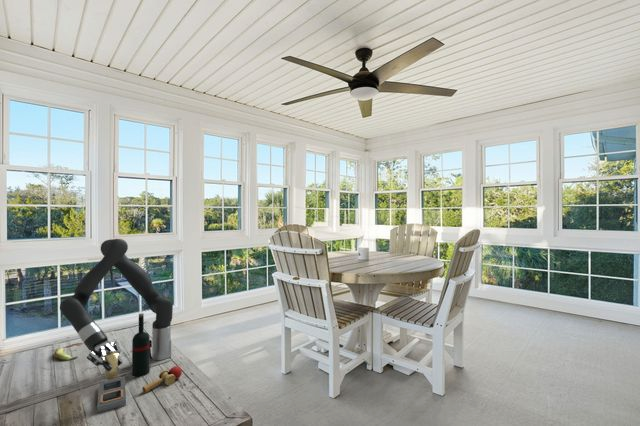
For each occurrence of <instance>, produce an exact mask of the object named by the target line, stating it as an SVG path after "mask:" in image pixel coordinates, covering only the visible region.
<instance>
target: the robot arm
mask: <svg viewBox="0 0 640 426" xmlns="http://www.w3.org/2000/svg"><path fill="white" fill-rule="evenodd" d="M128 249H129V246H128V242H127V241H125V240H124V239H122V238H112V239H111V238H110V239H106V240H104V241H102V242H101V245H100V252H101V254H102V256H103V257H102V258H101V259H100V261H99V262H98V263H97V264H96V265H95V266H94V267H92V269H90V270H89V271H88V272H86V274H85V275H84V276H83V277H82V278H81V280H80V281H79V282H78V284H77V285H76V287H74V293H73V296H72V297H68V298H65V299H63V301H61V302H60V304H59V310H60V312H61V313H62V315H63V316H64V317H65V318H66V319H67V321H68V322H70V324H71V325H72V327H73V329H74V331H76V333H77V334H78V336H79V338H80V339H81V341H82V343H84V344H83V345H85V346H86V348H87V349H88V351H91V352H89V354H88V355H86V359H87V360H88V361H90V362H91V363H93V365H95V366H96V367H98V366H103V368H104V369H105V371H106V370H107V371H110V370H111V369H112V368H113V367H112V366H111V364H110V363H109V362H108V361H107V359H106V354H107V353H109V352H115V351H116V352H118V367H119V366H121V365H122V364H123V360H122V358H121V357H120V354H121V353H122V349H121V346H120V345H119V342H118V341H117V340H115V341H114V342H110V341H109V340H108V339H109V338H108V336H107V334H105V332H104V331H103V330H102V328H101V327H100V325H98V324H97V323H96V322H95V320H94V319H93V318H92V317H91V315H90V314H89V313H88V312H87V310H85V307H86V306H87V303H88V302H89V299H90V298H91V296H92V294H93V293H94V292H95V290H96V289H97V287H98V286H99V284H100V283H101V281H102V280H103V279H104V278H105V276H107V274H108V273H109V271H110V270H111V269H112V268H113V267H115V268H116V269H117V271H119V273H120V274H121V275H122V276H123V278H124V279H125V280H126V281H127V283H128V284H129V285H130V286H131V287H132V289H134V290H135V291H136V292H137V294H139V296H140V297H142V298H143V300H144V301H145V303H146V304H147V306H148V308H149V310H151V312H153V313H154V314H155V320H154V321H153V322H152V326H151V327H152V330H151V332H152V333H151V335H152V339H151V340H152V347H151V357H152V359H151V360H154V361H162V360H166V359H168V358H170V357H172V339H171V331H172V330H171V329H172V327H171V322H172V319H173V313H174V312H173V310H174V306H173V302H172V300H171V299H169V298H167V297H164V296H163V295H161V294H160V293H159V292H158V291H157V290H156V288H155V287H154V285H153V281H152V278H151V277H150V276H149V274H148V273H147V271H146V270H145V269H144V268H142V267H141V266H140V265H138V264H137V263H136V262H134V261H132V260H131V259H130V258H129V257H127V255H126V254H127V252H128Z"/></svg>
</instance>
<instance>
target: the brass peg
mask: <svg viewBox="0 0 640 426" xmlns="http://www.w3.org/2000/svg"><path fill="white" fill-rule="evenodd" d="M106 359H107V361H108V362H109V363H110V364H111V366H112V367H113V368H112V369H111V370H110V371H107V370H106V369H105V377H104V378H105V381H108V380H113V379H117V378H119V377H118V376H119V366H118V352H116V351H115V352H111V351H110V352H109V353H107V354H106Z"/></svg>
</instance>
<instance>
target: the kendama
mask: <svg viewBox="0 0 640 426" xmlns="http://www.w3.org/2000/svg"><path fill="white" fill-rule="evenodd" d="M181 376H182V368H181V367H180V366H177V365H174V366H172V367H171V368H170V369H169V370H168V369H163V370H161V371H160V372H159V374H158V379H156V380H155V381H152V382H150V383H147V384H146V385H144V386H142V388H141V389H142V393H144V394H146V393H148V392H149V391H151V390H152V389H154V388H155V387H157V386H158V385H159V384H161V383H162V382H164V384H165V385H166V386H170V385H172V384H174V383H175V381H176V380H178V379H179V378H180V377H181Z"/></svg>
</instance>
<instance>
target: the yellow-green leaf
mask: <svg viewBox="0 0 640 426" xmlns="http://www.w3.org/2000/svg"><path fill="white" fill-rule="evenodd" d="M82 345H85V344H84V342H77V343H72V344H69V345H67V346H64V347H59V348H57V349H53V350H52V351H51V352H52V353H54V355H53V356H54V357H55V359H57V360H59V361H62V362H63V361H64V362H65V361H66V362H67V361H72V360H76V359H78V356H75V357H74V356H71V355H69V354H67V352H64V349H68V348H71V347H75V346H77V347H80V346H82ZM63 348H64V349H63ZM75 351H77V352H78V350H77V349H74V350H70V353H71V352H75ZM42 368H43V370H44V369H45V370H47V371H49V369H47V368H44V367H42Z"/></svg>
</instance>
